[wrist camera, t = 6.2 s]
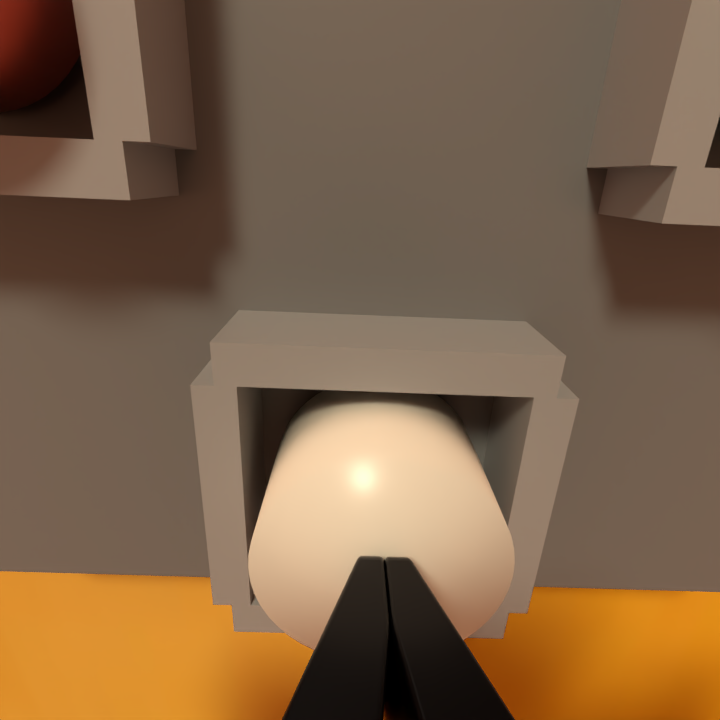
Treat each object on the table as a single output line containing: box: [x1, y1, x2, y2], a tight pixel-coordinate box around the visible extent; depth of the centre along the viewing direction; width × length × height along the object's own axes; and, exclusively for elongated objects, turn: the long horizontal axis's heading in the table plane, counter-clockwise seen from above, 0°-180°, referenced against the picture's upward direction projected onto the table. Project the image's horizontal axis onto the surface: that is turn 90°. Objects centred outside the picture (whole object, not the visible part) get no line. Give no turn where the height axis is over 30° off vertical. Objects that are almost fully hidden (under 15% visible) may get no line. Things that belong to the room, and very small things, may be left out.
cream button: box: [248, 390, 515, 650], centre depth 9 cm, size 4×4×3 cm
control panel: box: [0, 0, 720, 639], centre depth 10 cm, size 21×17×5 cm
